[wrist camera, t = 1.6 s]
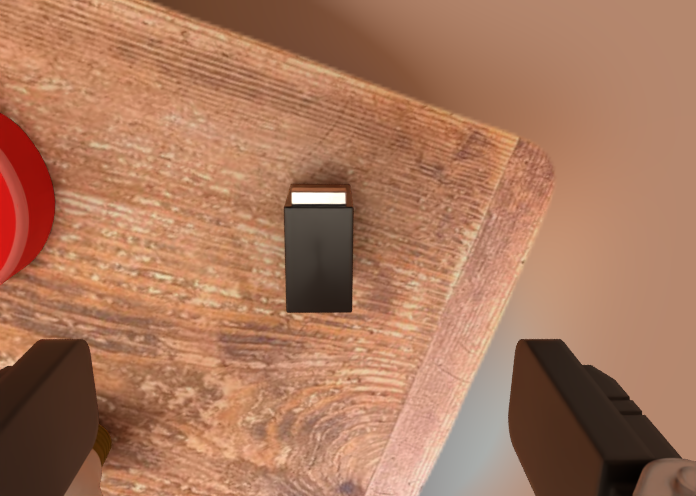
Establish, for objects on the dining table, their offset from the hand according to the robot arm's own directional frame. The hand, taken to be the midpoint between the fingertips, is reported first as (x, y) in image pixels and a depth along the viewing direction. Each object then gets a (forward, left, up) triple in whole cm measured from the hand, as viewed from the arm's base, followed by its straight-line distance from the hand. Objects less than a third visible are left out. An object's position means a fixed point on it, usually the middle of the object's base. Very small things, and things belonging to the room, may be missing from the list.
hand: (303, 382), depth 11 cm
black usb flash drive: (+3, 0, -20) cm, 20 cm away
